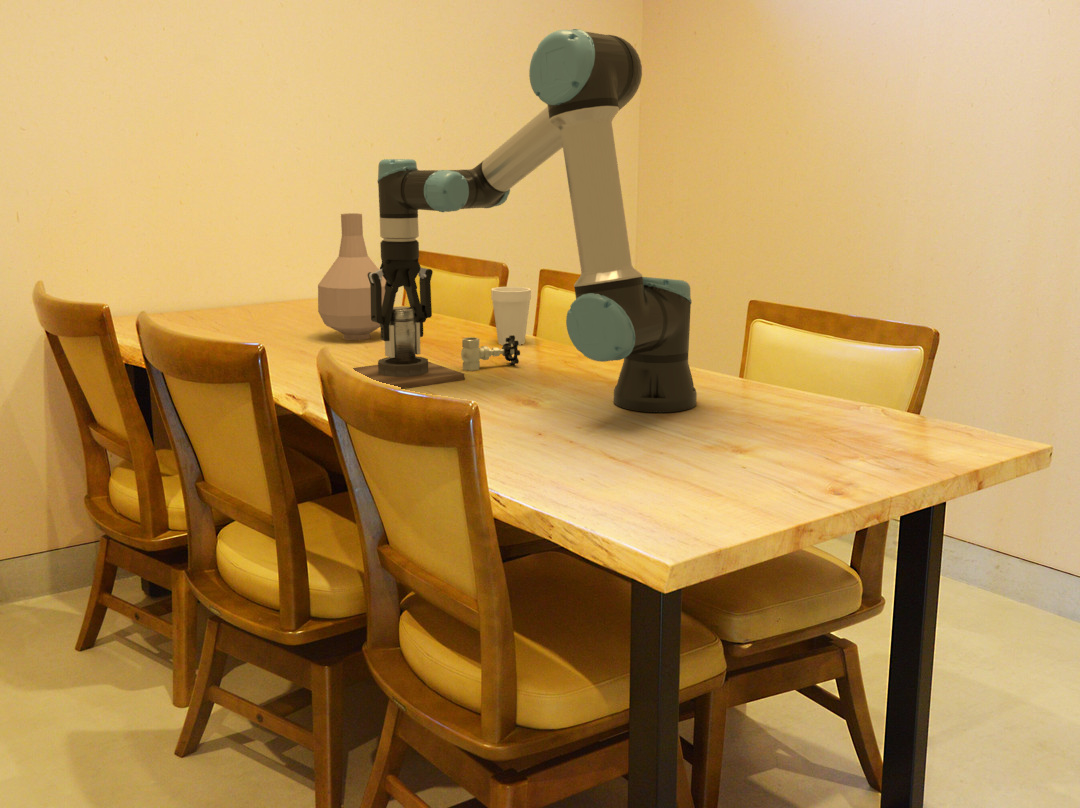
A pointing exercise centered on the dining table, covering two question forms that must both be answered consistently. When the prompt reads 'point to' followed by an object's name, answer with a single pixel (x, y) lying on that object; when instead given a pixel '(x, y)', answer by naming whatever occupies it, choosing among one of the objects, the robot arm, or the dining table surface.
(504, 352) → the valve
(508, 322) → the foam cup
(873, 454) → the dining table surface
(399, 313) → the cylinder
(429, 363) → the ring block
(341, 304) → the vase
